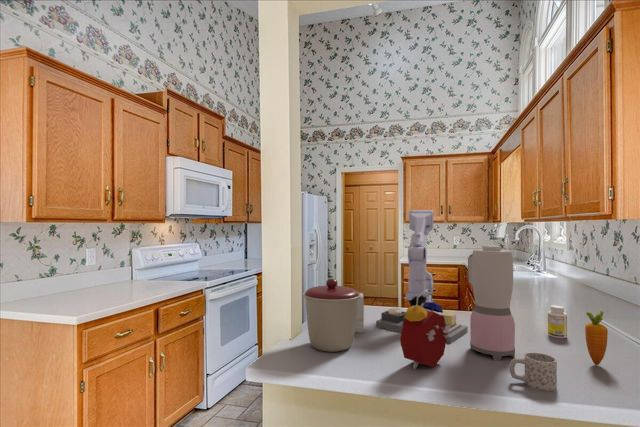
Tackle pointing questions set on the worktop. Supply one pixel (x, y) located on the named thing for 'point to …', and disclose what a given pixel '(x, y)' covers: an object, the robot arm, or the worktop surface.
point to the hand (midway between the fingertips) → (417, 316)
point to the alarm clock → (424, 333)
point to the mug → (537, 371)
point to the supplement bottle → (557, 322)
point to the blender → (492, 301)
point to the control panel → (398, 320)
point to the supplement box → (360, 315)
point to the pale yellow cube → (449, 319)
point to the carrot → (596, 338)
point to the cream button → (395, 311)
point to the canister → (331, 316)
